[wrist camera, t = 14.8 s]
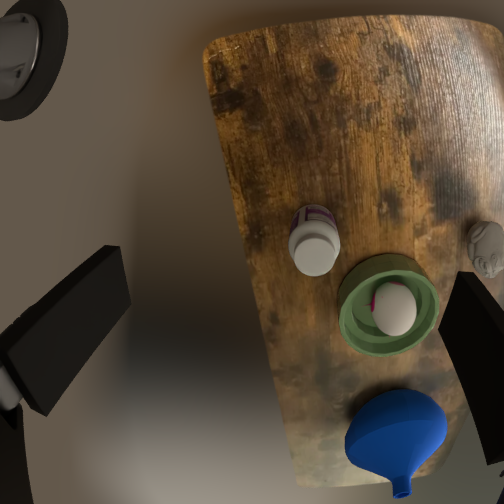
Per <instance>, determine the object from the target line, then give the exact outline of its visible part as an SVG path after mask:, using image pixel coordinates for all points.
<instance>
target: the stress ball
mask: <svg viewBox="0 0 504 504" xmlns="http://www.w3.org/2000/svg"><path fill="white" fill-rule="evenodd" d="M368 305H371V312H372V317H373V320H374V322H375V324H376V325H377V327H378V328H379V329H380V330H381V331H382V332H384V333H385V334H388V335H389V337H390V335H391V336H398V335H402V334H404V333H406V332H407V331H408V330H409V329H410V328H411V327H412V325H413V323H414V321H415V318H416V311H417V309H416V302H415V299H414V296H413V294H412V293H411V291H410V290H409V289H408V288H407V287H406V286H405V285H403V284H402V283H399V282H395V281H390V282H386V283H384V284H382V285H381V286H380V287H379V288H378V289H377V290H376V291H375V293H374V295H373V298H372V302H371V304H368ZM365 306H367V305H365ZM361 307H362V306H361Z"/></svg>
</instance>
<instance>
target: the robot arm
mask: <svg viewBox="0 0 504 504" xmlns="http://www.w3.org/2000/svg"><path fill="white" fill-rule="evenodd" d="M42 41H43V32H42V26H41V23H40V21H39V19H38V18H37V17H36V16H35V15H33V14H29V13H16V14H12V15H9V16H5V17H1V18H0V100H5V99H11V98H14V97H16V96H17V95H18V94H20V93H21V92H22V91H23V89H24V88H25V87H26V86H27V84H28V83H29V81H30V79H31V78H32V76H33V74H34V72H35V69H36V67H37V64H38V61H39V58H40V54H41V49H42ZM130 305H131V299H130V295H129V291H128V285H127V282H126V276H125V271H124V266H123V261H122V255H121V250H120V247H119V246H110V245H104V246H103V247H102V248H101V249H99V250H98V251H97V252H96V253H94V254H93V255H92V256H91V257H90V258H88V259H87V260H86V261H84V262H83V263H82V264H81V265H80V266H78V267H77V268H76V269H75V270H74V271H72V272H71V273H70V274H69V275H68V276H66V277H65V278H64V279H63V280H62V281H60V282H59V283H58V284H57V285H56V286H55V287H54V288H53V289H51V290H50V291H49V292H48V293H47V294H46V295H44V296H43V297H42V298H41V299H40V300H39V301H38V302H37V303H35V304H34V305H32V306H30V307H29V308H28V309H27V310H25V311H24V312H23V313H22V314H21V315H20V317H18V318H17V319H16V320H15V321H14V322H13V324H11V325H9V326H8V327H7V328H6V329H5V330H4V331H3V332H2V333H1V334H0V504H34V503H33V499H32V493H31V487H30V481H29V475H28V468H27V460H26V451H25V442H24V428H23V427H24V426H23V410H22V406H21V404H20V403H19V401H20V400H21V399H22V398H24V399H25V401H26V402H27V404H28V405H29V407H30V408H31V409H33V410H35V411H36V412H38V413H40V414H42V415H44V416H46V417H47V416H48V414H49V413H50V411H51V410H52V408H53V407H54V406H55V404H56V403H57V401H58V400H59V399H60V397H61V396H62V394H63V393H64V391H65V390H66V389H67V387H68V386H69V384H70V383H71V382H72V381H73V379H74V378H75V376H76V375H77V374H78V372H79V371H80V370H81V368H82V367H83V366H84V364H85V363H86V361H87V360H88V359H89V357H90V356H91V355H92V353H93V352H94V351H95V350H96V348H97V347H98V346H99V345H100V343H101V342H102V341H103V339H104V338H105V337H106V335H107V334H108V333H109V332H110V330H111V329H112V328H113V326H114V325H115V324H116V323H117V321H118V320H119V319H120V318H121V316H122V315H123V314H124V313H125V311H126V310H127V309H128V308H129V306H130ZM438 331H439V333H440V335H441V337H442V340H443V342H444V344H445V346H446V349H447V351H448V353H449V356H450V358H451V360H452V363H453V365H454V368H455V370H456V373H457V375H458V378H459V380H460V383H461V385H462V388H463V391H464V393H465V396H466V399H467V401H468V404H469V407H470V410H471V413H472V416H473V419H474V422H475V425H476V428H477V431H478V434H479V438H480V441H481V444H482V447H483V451H484V455H485V458H486V462H487V465H491V464H494V463H498V462H501V461H504V311H503V310H502V308H501V307H500V306H499V304H498V303H497V302H496V300H495V299H494V298H493V296H492V295H491V294H490V292H489V291H488V290H487V289H486V287H485V286H484V285H483V284H482V282H481V281H480V280H479V279H478V277H477V276H476V275H475V274H474V272H462V271H458V273H457V277H456V280H455V283H454V286H453V289H452V292H451V295H450V298H449V301H448V304H447V307H446V309H445V312H444V315H443V318H442V320H441V323H440V325H439V328H438ZM502 476H504V470H503V471H502V472H501V474H500V477H502ZM497 504H504V488H503V490H502V493H501V495H500V497H499V499H498V502H497Z"/></svg>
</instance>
